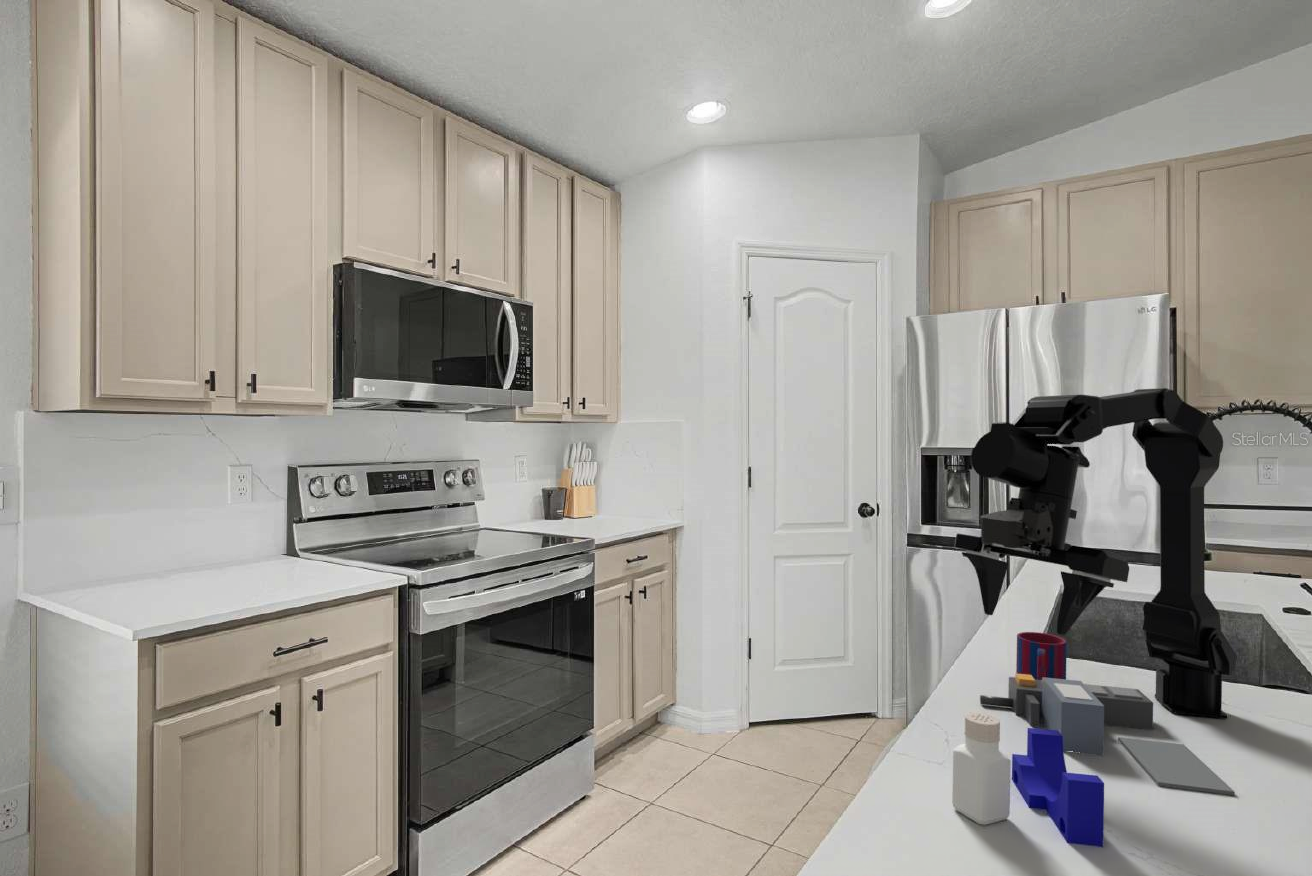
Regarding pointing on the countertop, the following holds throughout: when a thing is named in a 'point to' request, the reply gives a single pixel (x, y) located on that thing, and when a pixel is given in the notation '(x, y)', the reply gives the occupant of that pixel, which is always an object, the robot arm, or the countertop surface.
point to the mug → (1041, 655)
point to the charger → (1073, 715)
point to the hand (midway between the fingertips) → (1022, 624)
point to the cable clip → (1060, 788)
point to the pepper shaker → (981, 771)
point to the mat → (1174, 766)
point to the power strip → (1118, 702)
